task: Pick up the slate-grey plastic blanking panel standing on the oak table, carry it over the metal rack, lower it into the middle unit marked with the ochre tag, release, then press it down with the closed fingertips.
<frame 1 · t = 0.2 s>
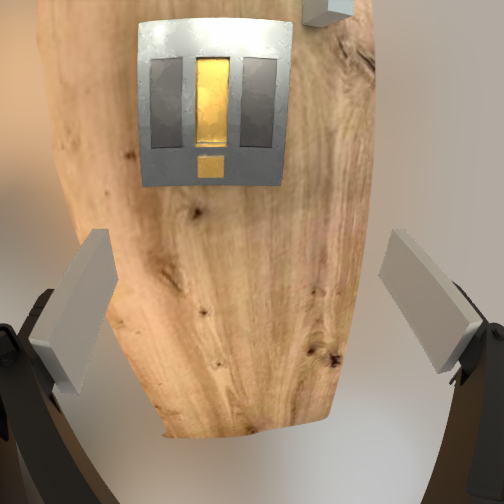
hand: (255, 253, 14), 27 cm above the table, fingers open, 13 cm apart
rack: (212, 99, 34), on the table
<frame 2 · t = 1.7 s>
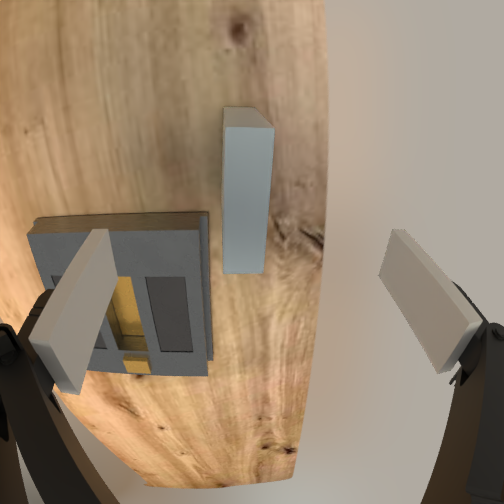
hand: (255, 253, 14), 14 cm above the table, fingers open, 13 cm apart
panel: (237, 158, 26), on the table
rack: (129, 297, 32), on the table
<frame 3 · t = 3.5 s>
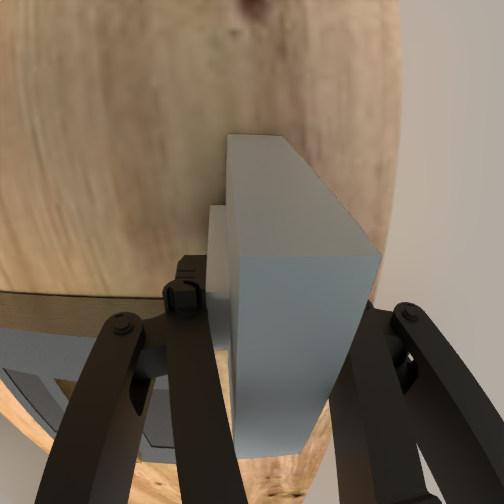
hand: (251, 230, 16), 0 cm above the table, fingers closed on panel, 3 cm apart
panel: (250, 222, 16), on the table, touching gripper
rack: (106, 386, 23), on the table
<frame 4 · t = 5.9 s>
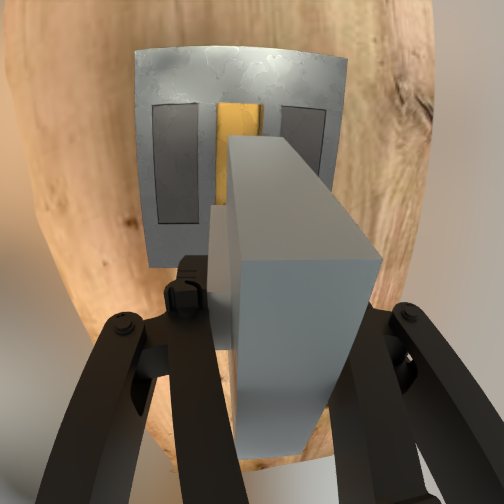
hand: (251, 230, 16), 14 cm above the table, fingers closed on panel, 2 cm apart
panel: (250, 223, 16), point 14 cm above the table, touching gripper
rack: (236, 156, 28), on the table
when the fingers open (4 cm above the table, at t = 7.8 s): panel drops 3 cm, resting on rack.
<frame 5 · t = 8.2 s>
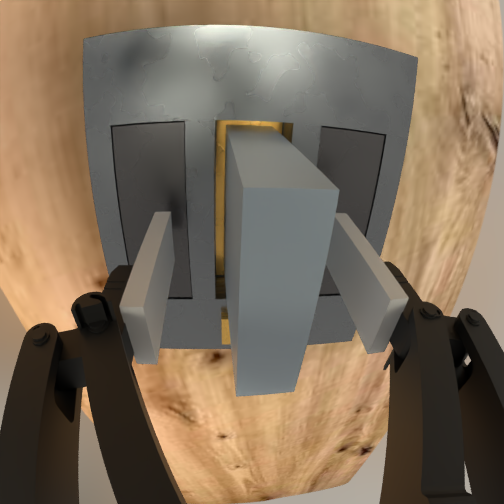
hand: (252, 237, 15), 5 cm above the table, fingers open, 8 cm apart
panel: (245, 200, 18), point 1 cm above the table, touching rack
rack: (244, 197, 19), on the table
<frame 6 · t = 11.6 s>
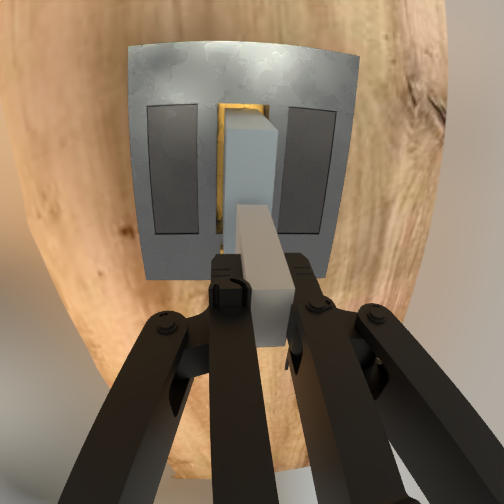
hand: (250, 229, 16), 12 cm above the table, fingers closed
panel: (238, 161, 25), point 1 cm above the table, touching rack
rack: (238, 161, 26), on the table
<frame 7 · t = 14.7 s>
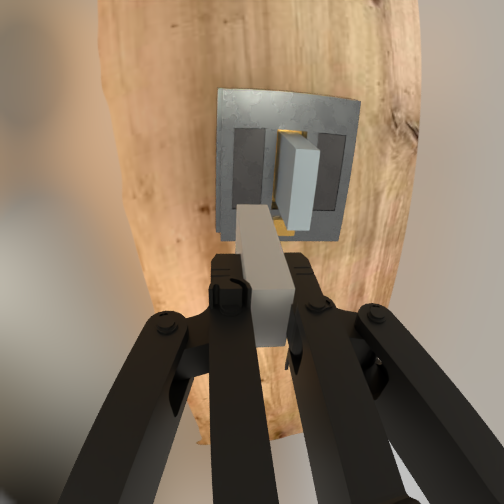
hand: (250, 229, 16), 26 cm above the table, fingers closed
panel: (285, 164, 40), point 1 cm above the table, touching rack
rack: (284, 164, 41), on the table
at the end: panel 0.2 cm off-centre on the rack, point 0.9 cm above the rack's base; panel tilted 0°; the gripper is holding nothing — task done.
